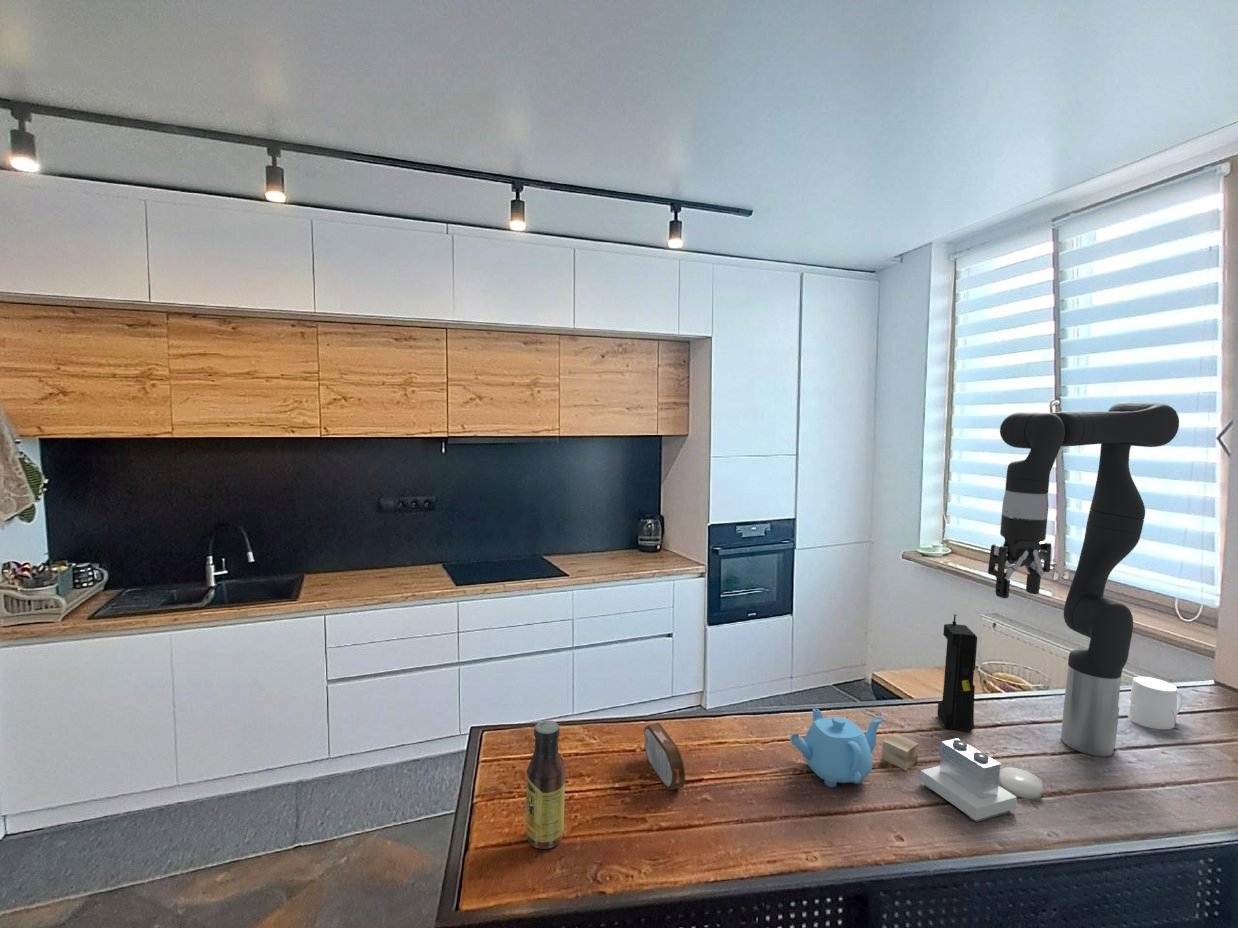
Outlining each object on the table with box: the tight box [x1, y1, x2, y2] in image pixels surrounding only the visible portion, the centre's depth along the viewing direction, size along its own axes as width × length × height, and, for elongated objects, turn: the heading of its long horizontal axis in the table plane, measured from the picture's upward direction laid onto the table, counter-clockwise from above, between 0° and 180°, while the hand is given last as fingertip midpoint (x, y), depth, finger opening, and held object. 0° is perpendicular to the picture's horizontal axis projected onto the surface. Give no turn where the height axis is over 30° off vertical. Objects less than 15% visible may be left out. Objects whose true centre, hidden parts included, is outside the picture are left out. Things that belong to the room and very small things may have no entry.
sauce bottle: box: [525, 719, 566, 850], centre depth 101 cm, size 6×6×20 cm
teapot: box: [789, 708, 885, 788], centre depth 122 cm, size 15×14×11 cm
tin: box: [643, 722, 686, 791], centre depth 120 cm, size 15×3×8 cm, turn 19°
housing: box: [939, 737, 1001, 799], centre depth 115 cm, size 4×9×7 cm, turn 21°
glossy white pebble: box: [999, 766, 1043, 800], centre depth 120 cm, size 7×7×2 cm
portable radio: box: [937, 613, 978, 732], centre depth 142 cm, size 8×6×25 cm
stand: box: [919, 765, 1018, 823], centre depth 116 cm, size 10×12×3 cm
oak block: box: [881, 733, 919, 771], centre depth 128 cm, size 5×5×4 cm
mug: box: [1127, 676, 1184, 730], centre depth 147 cm, size 12×9×8 cm
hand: (1017, 595), depth 123 cm, fingers open, 8 cm apart
